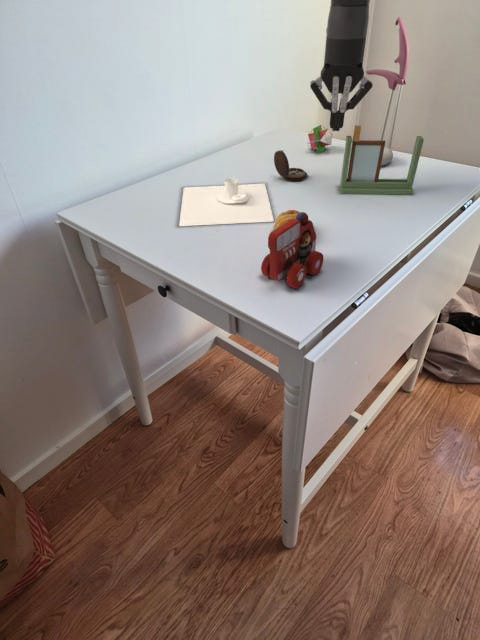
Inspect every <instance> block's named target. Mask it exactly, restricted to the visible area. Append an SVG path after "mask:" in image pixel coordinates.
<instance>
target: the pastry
mask: <svg viewBox="0 0 480 640" xmlns="http://www.w3.org/2000/svg"><path fill="white" fill-rule="evenodd" d="M300 212H301V211H298V210H296V209H287V210H285V211H281V213H279V214H278V215H277V216H276V218H275V219H274V225H273V230H275V229H277V228H278V227H280V226H282V225H283V224H284V223H286V222H288V221H289V220H291V219H296V216H297V215H298V214H299V213H300Z"/></svg>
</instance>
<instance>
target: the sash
mask: <svg viewBox="0 0 480 640" xmlns="http://www.w3.org/2000/svg"><path fill="white" fill-rule="evenodd" d="M361 131H362V126H361V125H354V129H353V136H352V144H351V151H350V159H349V166H348V173H347V182H378V179H380V173H381V167H382V166H381V163H382V157H383V152H384V147H385V146H386V140H376V139H375V140H371V139H369V140H362V139H360V137H361Z"/></svg>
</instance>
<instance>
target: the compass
mask: <svg viewBox="0 0 480 640" xmlns="http://www.w3.org/2000/svg"><path fill="white" fill-rule="evenodd" d="M284 151H285V149H283V150H281V149H279V150H277V151H275V152H274V155H273V163H274V168H275V170H276V172H277V173H278V175H279V176H280V177H282V178H283V179H284V180H286V181H291V182H300V181H304V179H306V178H307V176H308V174H307V172H306V171H305V170H304V169H303V168H300V167H290V164H289V160H288V156H287V155H286V153H285V152H284Z"/></svg>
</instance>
